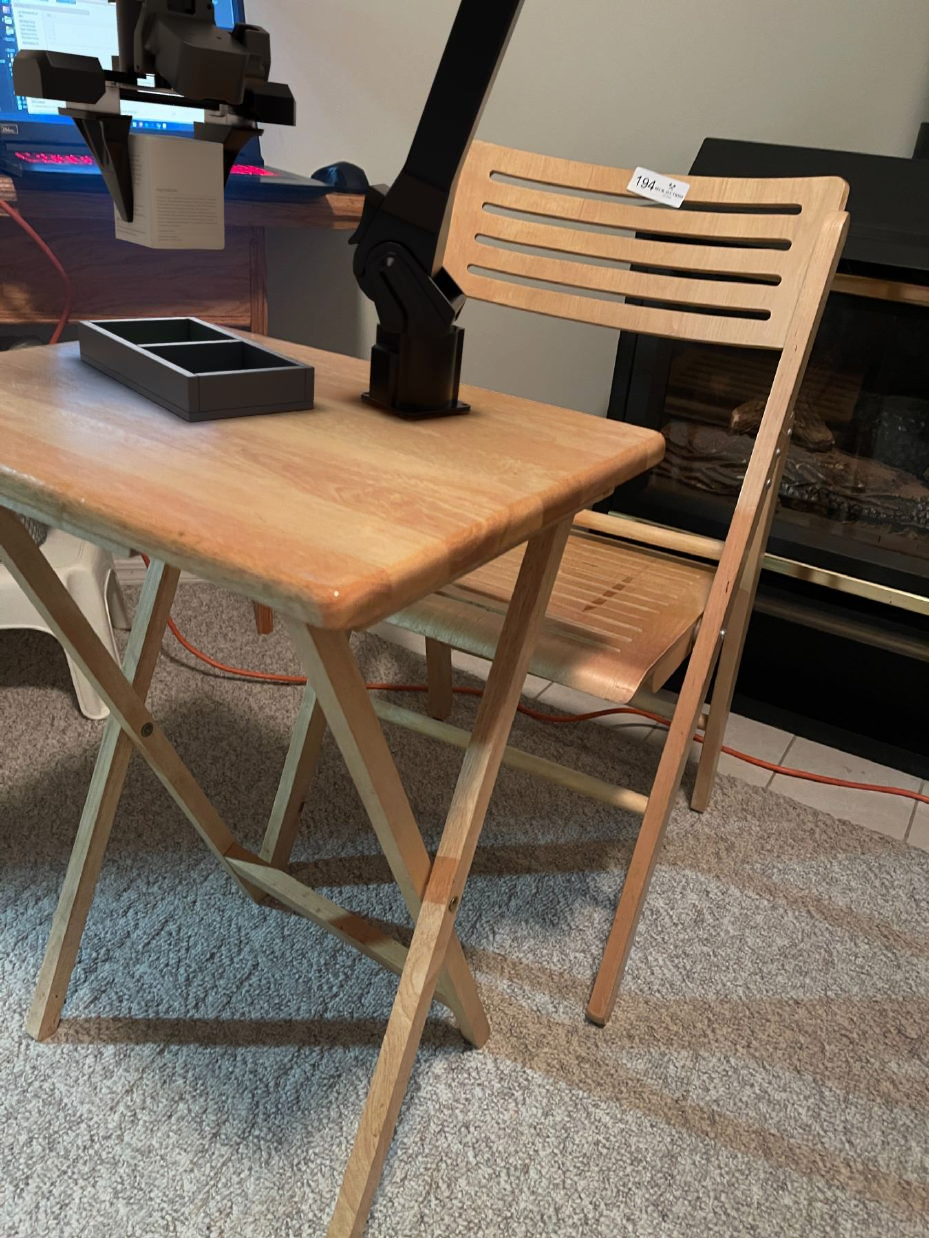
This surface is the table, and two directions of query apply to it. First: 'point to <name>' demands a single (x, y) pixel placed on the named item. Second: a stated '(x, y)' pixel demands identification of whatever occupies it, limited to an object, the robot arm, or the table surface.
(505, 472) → the table surface
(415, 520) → the table surface
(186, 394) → the divided tray
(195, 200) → the product box
